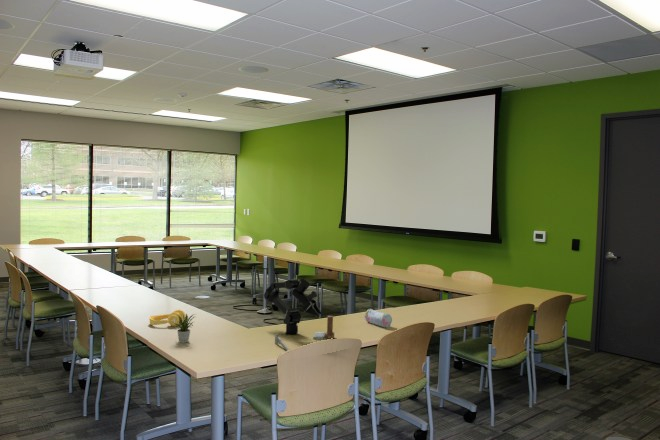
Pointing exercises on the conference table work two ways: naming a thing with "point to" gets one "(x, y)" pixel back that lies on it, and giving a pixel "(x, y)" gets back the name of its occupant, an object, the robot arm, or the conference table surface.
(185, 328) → the house plant
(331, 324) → the marking gauge
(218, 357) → the conference table surface
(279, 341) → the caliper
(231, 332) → the conference table surface
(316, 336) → the board
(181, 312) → the headset
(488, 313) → the conference table surface
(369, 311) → the pencil case
